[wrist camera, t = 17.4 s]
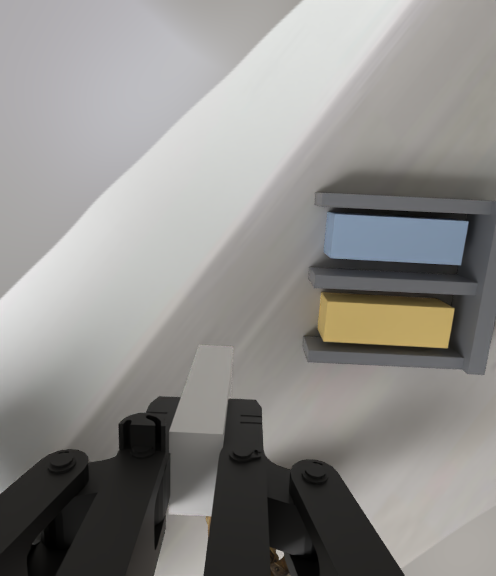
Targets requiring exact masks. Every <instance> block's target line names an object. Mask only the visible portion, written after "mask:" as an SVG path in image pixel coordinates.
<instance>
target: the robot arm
mask: <svg viewBox="0 0 496 576" xmlns="http://www.w3.org/2000/svg"><path fill="white" fill-rule="evenodd" d="M232 368H233V346H215V345H199V346H198V349H197V352H196V355H195V358H194V361H193V363H192V366H191V369H190V372H189V375H188V378H187V381H186V384H185V387H184V390H183V393H182V395H181V397H162V396H159V397H158V398H157V399H155V400H154V401H153V402H151V403H150V405H149V407H148V409H147V411H146V413H137V414H134V415H130V416H128V417H126V418H124V419H123V420H122V421H121V422H120V423H119V451H118V453H117V455H116V457H113V458H111V459H107V460H103V461H96V462H90V463H88V456H87V455H86V454H85V453H84V452H82V451H79V450H72V449H68V450H61V451H57V452H55V453H52V454H49V455H48V456H46V457H45V458H43V459H41V460H40V461H39V462H38V463H37V464H35V465H34V466H33V467H32V468H31V469H30V470H28V471H27V472H26V473H25V474H24V475H22V476H21V477H20V478H19V479H18V480H17V481H15V482H14V483H13V484H12V485H11V486H9V487H8V488H7V489H6V490H5V491H4V492H2V493H1V494H0V576H154V573H155V569H156V565H157V561H158V557H159V553H160V549H161V545H162V541H163V537H164V533H165V529H166V510H167V507H168V503H169V514H171V515H192V516H211V522H210V530H209V537H208V545H207V553H206V561H205V568H204V576H271V569H270V547H272V548H275V549H278V550H280V551H283V552H284V557H285V561H286V564H287V567H288V570H289V572H290V575H291V576H404V573H403V572H402V570H401V569H400V567H399V566H398V564H397V563H396V561H395V560H394V558H393V557H392V555H391V554H390V552H389V550H388V549H387V547H386V546H385V544H384V543H383V541H382V540H381V538H380V537H379V535H378V534H377V532H376V530H375V529H374V527H373V526H372V524H371V523H370V521H369V520H368V518H367V517H366V515H365V514H364V512H363V511H362V509H361V507H360V506H359V504H358V503H357V501H356V500H355V498H354V497H353V495H352V494H351V492H350V491H349V489H348V488H347V486H346V484H345V483H344V481H343V480H342V478H341V477H340V475H339V474H338V472H337V471H336V470H335V469H334V468H333V467H332V466H330V465H328V464H327V463H325V462H322V461H318V460H307V459H306V460H302V461H299V462H297V463H296V464H294V465H293V466H292V469H291V470H290V469H286V468H283V467H280V466H278V465H276V464H274V463H272V462H271V461H270V460H269V459H268V458H267V457H266V456H265V454H264V450H263V430H262V408H261V406H260V405H259V404H258V402H257V401H256V400H246V399H231V393H232Z"/></svg>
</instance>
